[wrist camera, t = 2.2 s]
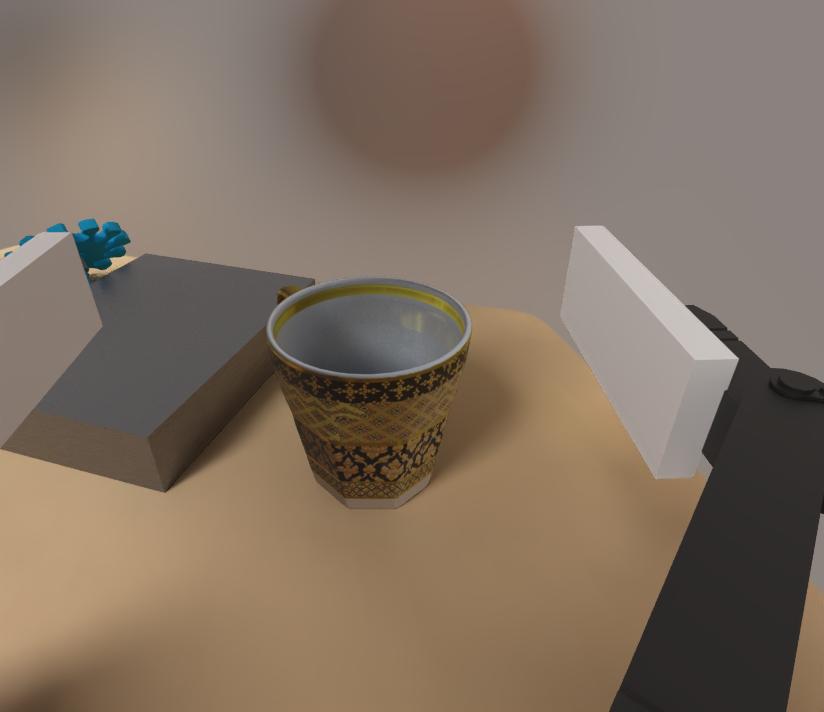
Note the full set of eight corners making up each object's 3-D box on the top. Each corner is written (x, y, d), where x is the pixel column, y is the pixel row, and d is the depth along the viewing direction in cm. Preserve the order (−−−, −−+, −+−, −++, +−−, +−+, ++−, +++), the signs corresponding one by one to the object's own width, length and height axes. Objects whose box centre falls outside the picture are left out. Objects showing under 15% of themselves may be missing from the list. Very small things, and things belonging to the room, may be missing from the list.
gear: (129, 248, 55) (115, 199, 46) (156, 300, 55) (147, 261, 46) (6, 289, 51) (-37, 243, 42) (34, 346, 50) (-2, 312, 41)
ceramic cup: (494, 469, 33) (514, 320, 27) (366, 573, 27) (359, 409, 21) (350, 377, 40) (344, 246, 35) (226, 442, 34) (194, 296, 29)
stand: (-57, 433, 34) (-87, 380, 32) (156, 294, 51) (145, 253, 48) (164, 492, 31) (147, 437, 29) (318, 322, 47) (314, 279, 45)
